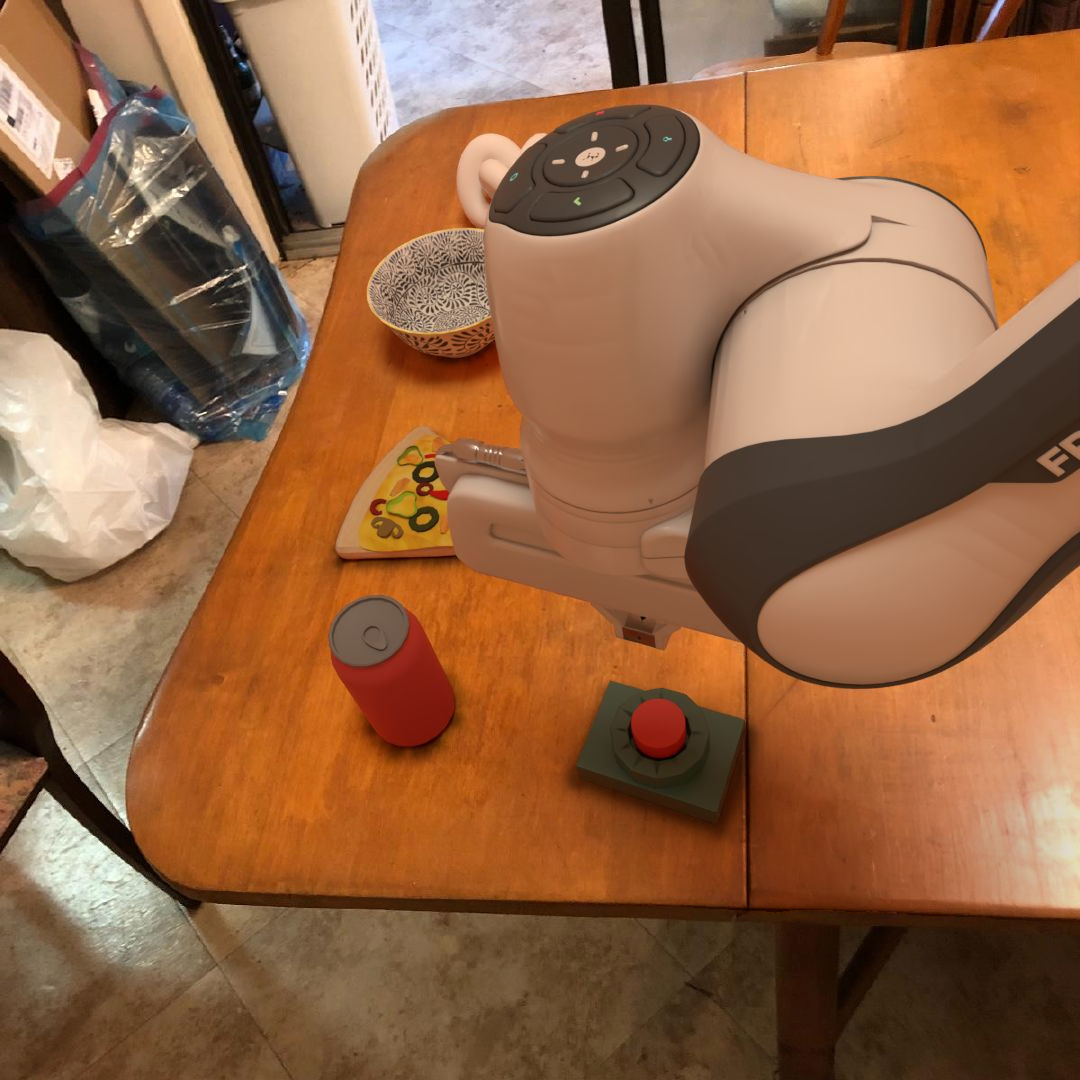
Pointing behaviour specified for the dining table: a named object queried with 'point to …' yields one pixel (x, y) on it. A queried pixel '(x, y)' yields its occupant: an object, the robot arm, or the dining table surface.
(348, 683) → the beer can
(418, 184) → the dining table surface
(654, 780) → the control block
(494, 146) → the white knot sculpture
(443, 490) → the pizza slice
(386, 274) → the bowl
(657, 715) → the button
